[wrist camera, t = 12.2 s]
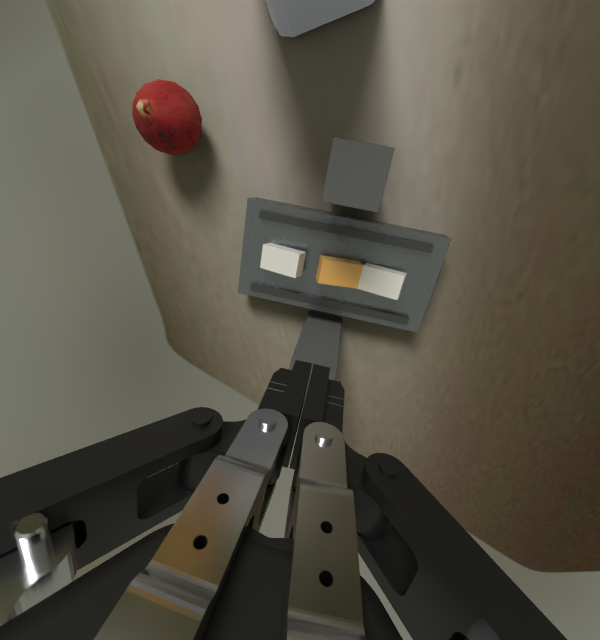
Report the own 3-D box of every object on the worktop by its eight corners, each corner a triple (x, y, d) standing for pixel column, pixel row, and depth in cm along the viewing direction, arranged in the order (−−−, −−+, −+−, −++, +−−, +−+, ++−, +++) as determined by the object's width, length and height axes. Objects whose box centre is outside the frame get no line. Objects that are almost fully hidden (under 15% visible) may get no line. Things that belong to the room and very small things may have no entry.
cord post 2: (380, 161, 32) (394, 148, 21) (370, 204, 33) (377, 212, 22) (340, 154, 32) (333, 137, 21) (332, 197, 34) (321, 201, 23)
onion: (221, 150, 34) (184, 140, 26) (172, 163, 35) (123, 156, 28) (204, 85, 32) (159, 54, 24) (153, 101, 33) (95, 76, 26)
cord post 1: (342, 318, 39) (336, 370, 28) (334, 347, 40) (327, 408, 29) (309, 311, 39) (291, 359, 28) (303, 340, 40) (284, 397, 29)
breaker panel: (443, 234, 33) (453, 239, 30) (413, 322, 37) (418, 335, 34) (256, 197, 35) (245, 198, 32) (246, 285, 39) (236, 294, 36)
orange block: (358, 261, 33) (363, 265, 31) (353, 283, 34) (357, 288, 32) (320, 255, 32) (323, 259, 31) (315, 278, 33) (318, 283, 32)
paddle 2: (406, 273, 31) (404, 276, 30) (399, 296, 32) (397, 300, 31) (367, 262, 33) (363, 265, 31) (361, 285, 34) (357, 288, 32)
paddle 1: (306, 252, 32) (299, 254, 31) (301, 275, 33) (295, 278, 32) (270, 242, 33) (263, 244, 32) (267, 265, 34) (259, 267, 33)
